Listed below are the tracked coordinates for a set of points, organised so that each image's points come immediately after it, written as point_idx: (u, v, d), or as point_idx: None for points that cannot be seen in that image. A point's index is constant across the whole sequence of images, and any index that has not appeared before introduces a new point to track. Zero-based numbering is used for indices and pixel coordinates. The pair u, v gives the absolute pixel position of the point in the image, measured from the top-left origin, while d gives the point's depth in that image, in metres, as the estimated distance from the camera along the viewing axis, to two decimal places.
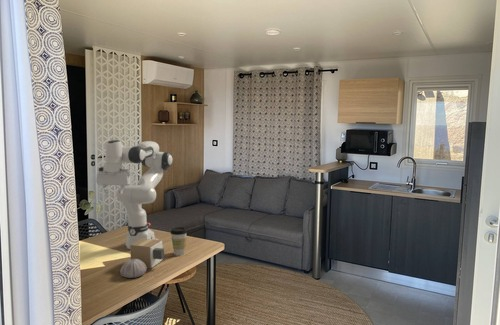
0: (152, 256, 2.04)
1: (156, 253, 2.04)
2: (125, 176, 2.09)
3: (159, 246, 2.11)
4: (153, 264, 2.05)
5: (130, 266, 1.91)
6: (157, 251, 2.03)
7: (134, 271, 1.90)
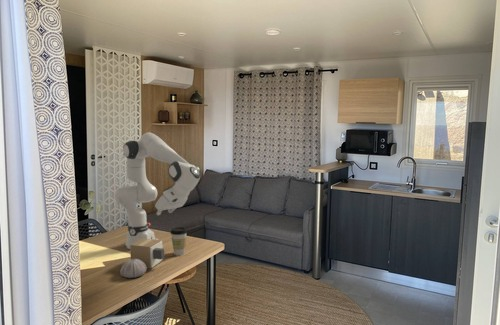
0: (152, 256, 2.04)
1: (156, 253, 2.04)
2: (186, 200, 2.02)
3: (159, 246, 2.11)
4: (153, 264, 2.05)
5: (130, 266, 1.91)
6: (157, 251, 2.03)
7: (134, 271, 1.90)
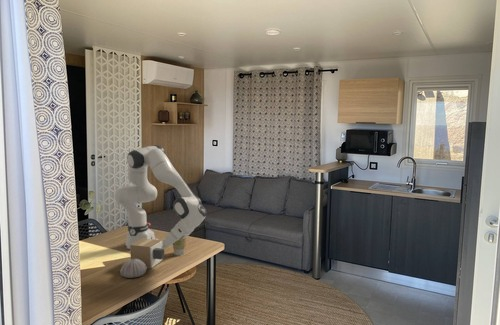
0: (152, 256, 2.04)
1: (156, 253, 2.04)
2: None
3: (159, 246, 2.11)
4: (153, 264, 2.05)
5: (130, 266, 1.91)
6: (157, 251, 2.03)
7: (134, 271, 1.90)
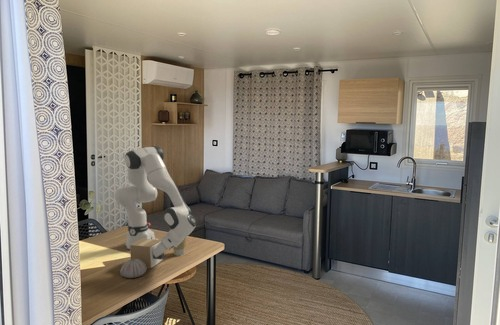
0: (152, 256, 2.04)
1: None
2: None
3: None
4: (153, 264, 2.05)
5: (130, 266, 1.91)
6: None
7: (134, 271, 1.90)
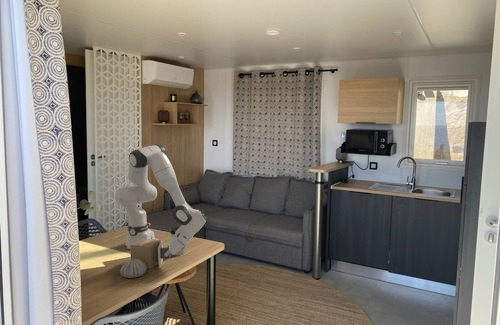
0: (160, 256, 2.04)
1: (164, 252, 2.04)
2: None
3: (161, 246, 2.11)
4: (160, 264, 2.05)
5: (130, 266, 1.91)
6: (165, 250, 2.04)
7: (134, 271, 1.90)
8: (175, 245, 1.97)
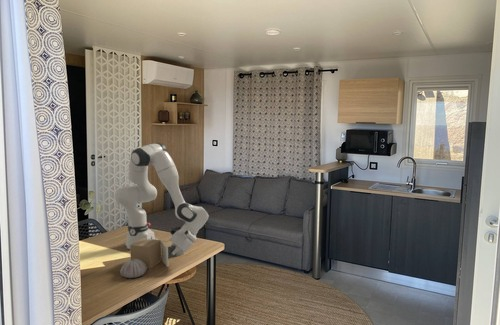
0: (167, 255, 2.05)
1: (171, 251, 2.07)
2: None
3: None
4: None
5: (130, 266, 1.91)
6: (172, 249, 2.07)
7: (134, 271, 1.90)
8: (186, 242, 2.02)
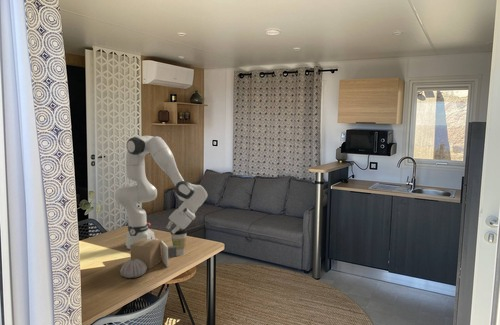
0: (167, 255, 2.05)
1: (171, 251, 2.07)
2: None
3: None
4: None
5: (130, 266, 1.91)
6: (172, 249, 2.07)
7: (134, 271, 1.90)
8: (184, 219, 2.00)
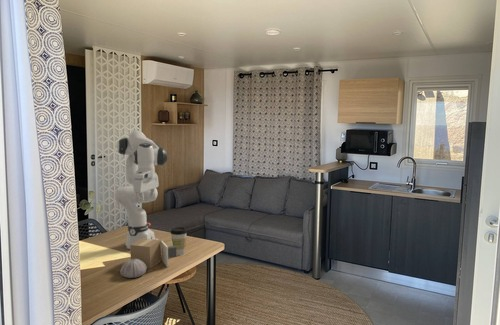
0: (167, 255, 2.05)
1: (171, 251, 2.07)
2: (157, 178, 2.13)
3: None
4: None
5: (130, 266, 1.91)
6: (172, 249, 2.07)
7: (134, 271, 1.90)
8: (134, 184, 1.97)
